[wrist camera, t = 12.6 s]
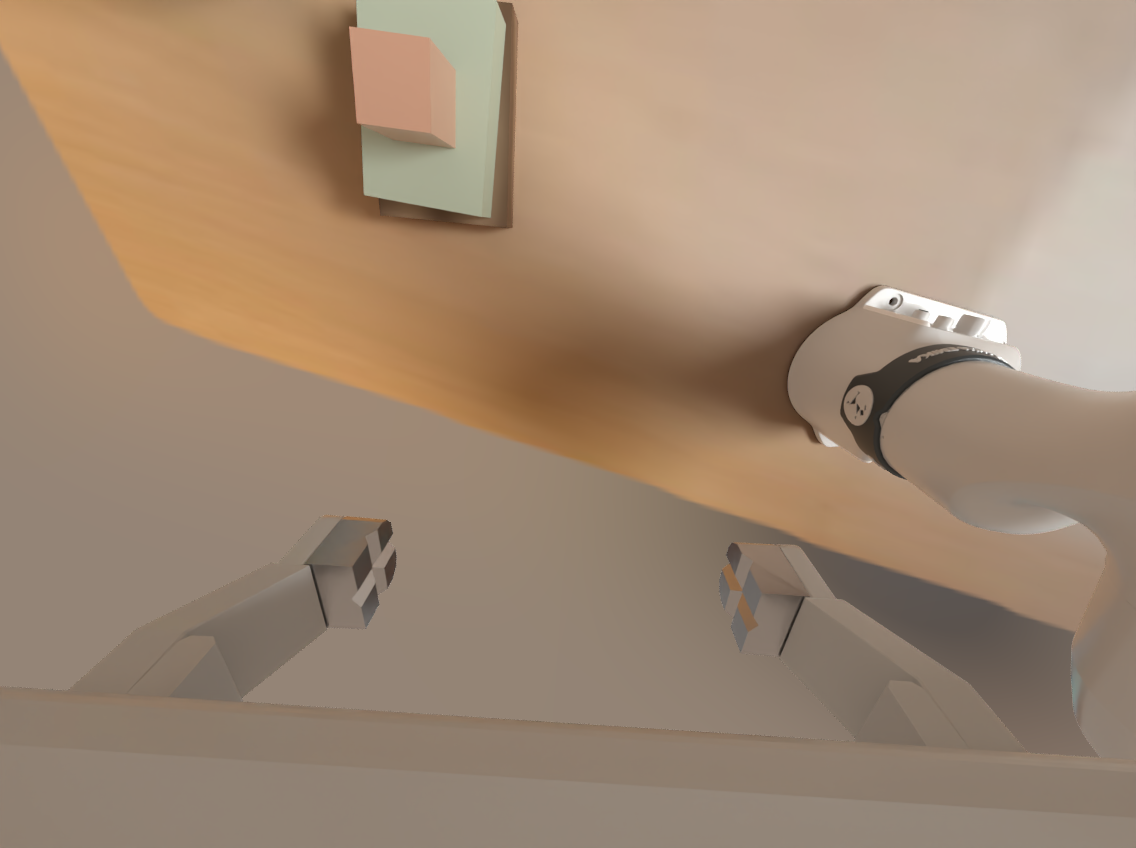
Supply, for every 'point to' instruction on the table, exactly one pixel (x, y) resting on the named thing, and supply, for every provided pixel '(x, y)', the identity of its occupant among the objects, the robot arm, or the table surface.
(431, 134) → the block
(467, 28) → the tower top
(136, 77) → the table surface
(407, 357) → the table surface
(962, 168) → the table surface
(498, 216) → the tower base
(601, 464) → the table surface
